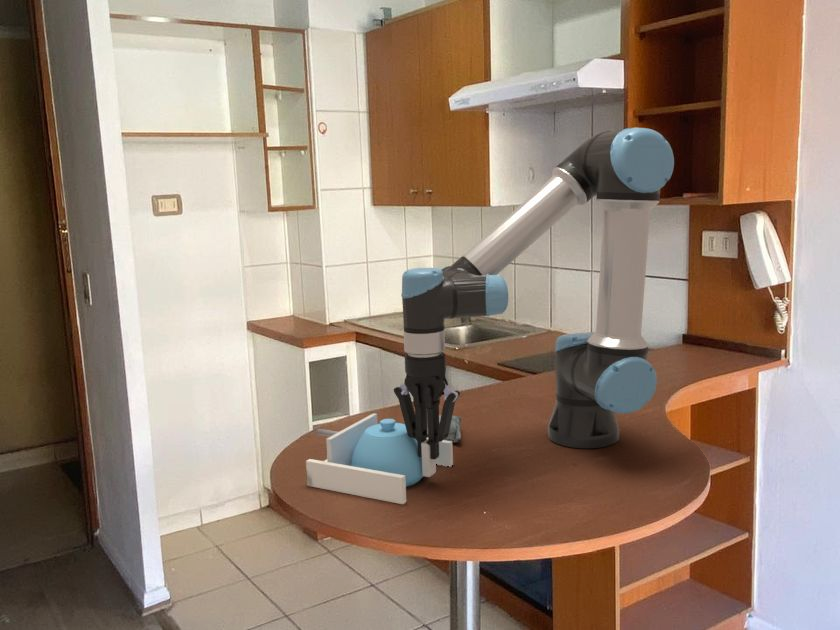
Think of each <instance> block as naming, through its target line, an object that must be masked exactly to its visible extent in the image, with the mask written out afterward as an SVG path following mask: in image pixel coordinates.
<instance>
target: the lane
mask: <svg viewBox="0 0 840 630" xmlns="http://www.w3.org/2000/svg"><path fill="white" fill-rule="evenodd" d="M427 439H428V438H427ZM453 446H454V445H453V443H452V441H447V440H443V441H441V442H439V457H438V458H437V459H436V464H437V465H436V466H441V465H442V467H447V466H449V467H448V468H451V467H452V465H453V466H454V455H453V454H454V451H453ZM305 468H306V469H305V470H306V481H307V482H306V483H307V487H312V488H318V489H322V490H327V491H332V492H337V493H343V494H349V495H354V496H358V497H363V498H368V499H374V500H379V501H384V502H388V503H395V504H399V505H405V504H406V502H407V487H406V481H405V475H400V474H394V473H388V472H382V471H377V470H371V469H365V468H359V467H354V466H348V465H342V464H336V463H331V462H328V460H327V458H326V459H325V460H319V459H312V458H309V459H307V460H305Z"/></svg>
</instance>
